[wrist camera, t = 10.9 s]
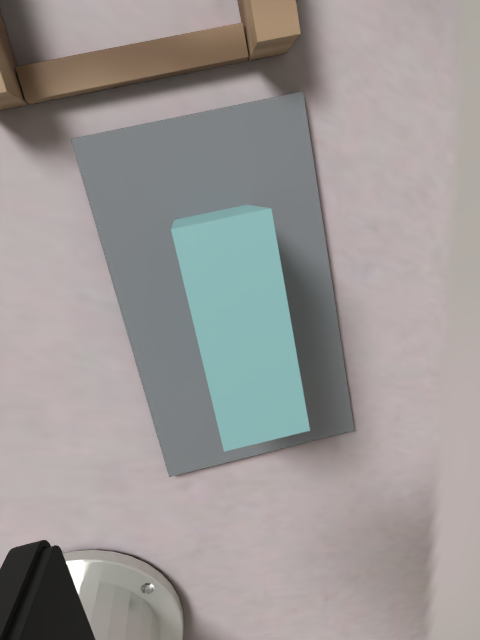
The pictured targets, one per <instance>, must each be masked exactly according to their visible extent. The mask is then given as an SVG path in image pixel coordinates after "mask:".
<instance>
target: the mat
mask: <svg viewBox="0 0 480 640" xmlns="http://www.w3.org/2000/svg"><path fill="white" fill-rule="evenodd" d="M71 142H72V145H73V149H74V152H75V156H76V159H77V162H78V166H79V169H80V173H81V176H82V180H83V183H84V186H85V190H86V193H87V197H88V200H89V204H90V207H91V210H92V214H93V217H94V221H95V224H96V228H97V231H98V234H99V238H100V241H101V245H102V248H103V252H104V255H105V258H106V262H107V265H108V269H109V272H110V275H111V279H112V282H113V286H114V289H115V293H116V296H117V299H118V303H119V306H120V310H121V313H122V317H123V320H124V323H125V327H126V330H127V334H128V337H129V341H130V344H131V347H132V351H133V354H134V358H135V361H136V365H137V368H138V371H139V375H140V378H141V382H142V385H143V389H144V392H145V395H146V399H147V402H148V406H149V409H150V412H151V416H152V419H153V423H154V426H155V430H156V433H157V436H158V440H159V443H160V447H161V450H162V454H163V457H164V460H165V464H166V467H167V471H168V474H169V477H171V476H175V475H179V474H183V473H187V472H191V471H195V470H199V469H203V468H207V467H211V466H215V465H219V464H223V463H227V462H231V461H235V460H239V459H243V458H247V457H251V456H255V455H259V454H263V453H267V452H271V451H275V450H278V449H282V448H286V447H290V446H294V445H298V444H302V443H306V442H310V441H314V440H318V439H322V438H326V437H330V436H334V435H338V434H342V433H346V432H350V431H354V425H353V418H352V412H351V405H350V398H349V392H348V385H347V378H346V372H345V365H344V359H343V352H342V345H341V339H340V332H339V325H338V319H337V312H336V306H335V299H334V292H333V286H332V279H331V272H330V266H329V259H328V253H327V246H326V239H325V233H324V226H323V219H322V213H321V206H320V200H319V193H318V186H317V180H316V173H315V167H314V160H313V153H312V147H311V140H310V133H309V127H308V120H307V114H306V107H305V100H304V94H303V91H302V92H297V93H292V94H288V95H283V96H278V97H273V98H268V99H263V100H258V101H253V102H249V103H244V104H239V105H234V106H229V107H224V108H219V109H214V110H210V111H205V112H200V113H195V114H190V115H185V116H180V117H175V118H171V119H166V120H161V121H156V122H151V123H146V124H141V125H136V126H132V127H127V128H122V129H117V130H112V131H107V132H102V133H97V134H93V135H88V136H83V137H78V138H73V139H71ZM243 205H253V206H259V207H266V208H271V209H272V215H273V221H274V227H275V232H276V238H277V244H278V250H279V255H280V261H281V267H282V272H283V278H284V284H285V290H286V295H287V301H288V307H289V313H290V318H291V324H292V330H293V336H294V341H295V347H296V353H297V359H298V364H299V370H300V376H301V382H302V387H303V393H304V399H305V405H306V410H307V416H308V422H309V428H310V431H307V432H303V433H299V434H294V435H290V436H286V437H282V438H278V439H274V440H270V441H266V442H262V443H258V444H253V445H249V446H245V447H241V448H237V449H233V450H229V451H225V452H224V450H223V445H222V441H221V437H220V433H219V429H218V424H217V420H216V416H215V412H214V408H213V403H212V399H211V395H210V391H209V387H208V383H207V378H206V374H205V370H204V366H203V362H202V357H201V353H200V349H199V345H198V341H197V336H196V332H195V328H194V324H193V320H192V315H191V311H190V307H189V303H188V299H187V295H186V290H185V286H184V282H183V278H182V274H181V269H180V265H179V261H178V257H177V253H176V248H175V244H174V240H173V236H172V232H171V228H172V225H173V222H174V220H177V219H181V218H186V217H191V216H195V215H200V214H205V213H210V212H214V211H219V210H224V209H229V208H233V207H238V206H243Z"/></svg>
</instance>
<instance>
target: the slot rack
mask: <svg viewBox="0 0 480 640" xmlns="http://www.w3.org/2000/svg"><path fill="white" fill-rule="evenodd" d="M238 5H239V11H240V17H241V22H242V23H238V24H233V25H228V26H223V27H217V28H212V29H207V30H202V31H197V32H192V33H187V34H181V35H176V36H171V37H166V38H161V39H156V40H151V41H145V42H140V43H135V44H130V45H125V46H120V47H114V48H109V49H104V50H99V51H94V52H89V53H84V54H78V55H73V56H68V57H63V58H58V59H53V60H48V61H42V62H37V63H32V64H27V65H22V66H17V64H16V61H15V58H14V55H13V51H12V48H11V45H10V42H9V38H8V35H7V32H6V29H5V26H4V22H3V19H2V16H1V13H0V110H5V109H10V108H15V107H20V106H25V105H29V103H30V104H35V103H40V102H45V101H50V100H55V99H60V98H65V97H70V96H75V95H80V94H85V93H90V92H95V91H100V90H105V89H110V88H115V87H120V86H125V85H130V84H135V83H140V82H145V81H150V80H155V79H160V78H165V77H170V76H175V75H180V74H185V73H190V72H195V71H200V70H205V69H210V68H215V67H220V66H225V65H230V64H235V63H240V62H245V61H247V59H248V61H250V60H255V59H260V58H265V57H270V56H275V55H280V54H285V53H287V52H288V50H289V49H290V48H291V46H292V45H293V43H294V42H295V41H296V39H297V38H298V37H299V35H300V34H301V32H300V25H299V18H298V12H297V5H296V0H238Z"/></svg>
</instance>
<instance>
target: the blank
mask: <svg viewBox="0 0 480 640" xmlns="http://www.w3.org/2000/svg"><path fill="white" fill-rule="evenodd" d="M171 232H172V236H173V240H174V244H175V248H176V253H177V257H178V261H179V265H180V269H181V274H182V278H183V282H184V286H185V290H186V295H187V299H188V303H189V307H190V311H191V315H192V320H193V324H194V328H195V332H196V336H197V341H198V345H199V349H200V353H201V357H202V362H203V366H204V370H205V374H206V378H207V383H208V387H209V391H210V395H211V399H212V403H213V408H214V412H215V416H216V420H217V424H218V429H219V433H220V437H221V441H222V445H223V450H224V452H225V451H229V450H233V449H237V448H241V447H245V446H249V445H253V444H258V443H262V442H266V441H270V440H274V439H278V438H282V437H286V436H290V435H294V434H299V433H303V432H307V431H310V428H309V422H308V416H307V410H306V405H305V399H304V393H303V387H302V382H301V376H300V370H299V364H298V359H297V353H296V347H295V341H294V336H293V330H292V324H291V318H290V313H289V307H288V301H287V295H286V290H285V284H284V278H283V272H282V267H281V261H280V255H279V250H278V244H277V238H276V232H275V227H274V221H273V215H272V209H271V208H266V207H259V206H253V205H243V206H238V207H233V208H229V209H224V210H219V211H214V212H210V213H205V214H200V215H195V216H191V217H186V218H181V219H177V220H174V222H173V225H172V228H171Z"/></svg>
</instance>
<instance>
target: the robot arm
mask: <svg viewBox="0 0 480 640" xmlns="http://www.w3.org/2000/svg"><path fill="white" fill-rule="evenodd" d="M0 640H183V609H182V606H181V603H180V600H179V597H178V595H177V593H176V591H175V590H174V588H173V586H172V585H171V583H170V582H169V581H168V580H167V579H166V578H165V577H164V576H163V575H162V574H161V573H160V572H159V571H157V570H156V569H154V568H153V567H151V566H150V565H149V564H147V563H145V562H143V561H141V560H138V559H136V558H134V557H132V556H128V555H124V554H121V553H117V552H112V551H102V550H83V551H73V552H68V553H64V554H63V553H62V551H61V549H60V547H59V546H56V545H55V546H52V547H51V545H50V544H49V542H47V541H46V540H41V541H38V542H34V543H30V544H26V545H22V546H19V547H15V548H13V549H11V550H10V551H9V553H8V554H7V556H6V559H5V561H4V563H3V565H2V567H1V569H0Z"/></svg>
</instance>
